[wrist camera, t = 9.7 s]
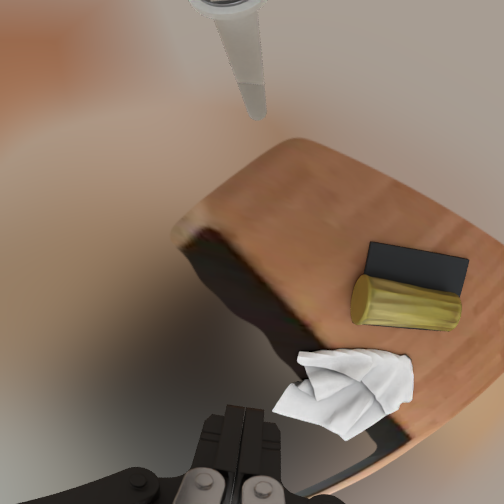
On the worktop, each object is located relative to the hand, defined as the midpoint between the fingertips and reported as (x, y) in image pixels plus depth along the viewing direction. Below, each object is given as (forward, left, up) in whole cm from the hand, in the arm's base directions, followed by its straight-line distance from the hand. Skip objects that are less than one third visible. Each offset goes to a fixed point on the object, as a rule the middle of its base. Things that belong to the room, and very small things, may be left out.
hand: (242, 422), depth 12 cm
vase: (+2, +12, -26) cm, 28 cm away
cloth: (+18, +15, -29) cm, 37 cm away
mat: (+1, +21, -29) cm, 36 cm away
